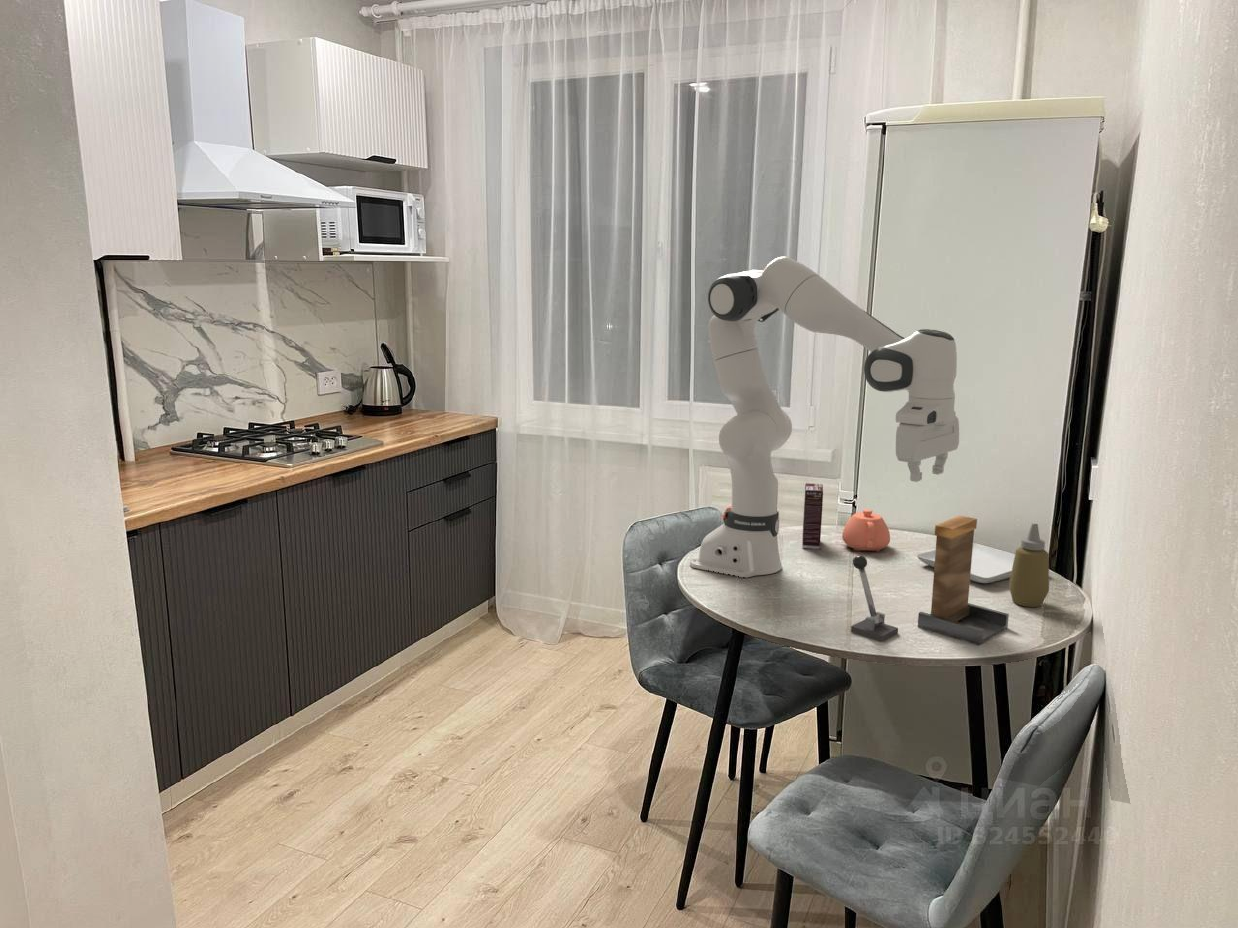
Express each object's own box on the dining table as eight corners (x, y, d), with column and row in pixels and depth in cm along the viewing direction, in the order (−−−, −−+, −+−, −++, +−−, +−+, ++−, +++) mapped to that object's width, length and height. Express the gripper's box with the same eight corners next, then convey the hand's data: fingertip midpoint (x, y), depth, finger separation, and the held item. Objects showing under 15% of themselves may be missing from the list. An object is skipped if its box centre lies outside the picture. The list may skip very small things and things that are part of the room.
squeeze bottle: (1002, 604, 194) (1009, 524, 190) (1013, 594, 200) (1020, 517, 196) (1041, 612, 189) (1049, 531, 185) (1052, 602, 195) (1060, 523, 191)
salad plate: (913, 566, 221) (914, 552, 220) (970, 552, 231) (971, 540, 230) (985, 591, 203) (986, 577, 202) (1044, 576, 213) (1045, 562, 212)
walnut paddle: (927, 622, 181) (934, 525, 177) (951, 609, 188) (959, 515, 184) (945, 627, 178) (953, 529, 174) (970, 614, 185) (978, 519, 181)
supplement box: (820, 549, 233) (823, 491, 230) (802, 548, 234) (804, 490, 231) (820, 540, 241) (822, 483, 238) (802, 539, 242) (804, 482, 239)
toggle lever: (866, 627, 178) (848, 557, 179) (873, 623, 180) (856, 554, 181) (878, 626, 176) (860, 556, 177) (885, 623, 178) (867, 553, 179)
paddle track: (917, 626, 182) (918, 612, 181) (946, 610, 190) (948, 597, 190) (979, 645, 172) (980, 630, 172) (1007, 627, 181) (1008, 613, 180)
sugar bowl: (885, 541, 240) (887, 505, 238) (894, 557, 227) (897, 518, 225) (839, 540, 242) (840, 503, 240) (845, 555, 228) (847, 517, 226)
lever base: (850, 631, 179) (851, 614, 178) (866, 623, 183) (867, 607, 182) (881, 641, 174) (883, 624, 173) (897, 633, 178) (898, 616, 178)
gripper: (940, 404, 189) (936, 467, 192) (891, 414, 175) (887, 483, 178) (969, 406, 184) (965, 471, 187) (920, 418, 171) (917, 487, 173)
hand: (927, 477), depth 182 cm, fingers open, 8 cm apart
